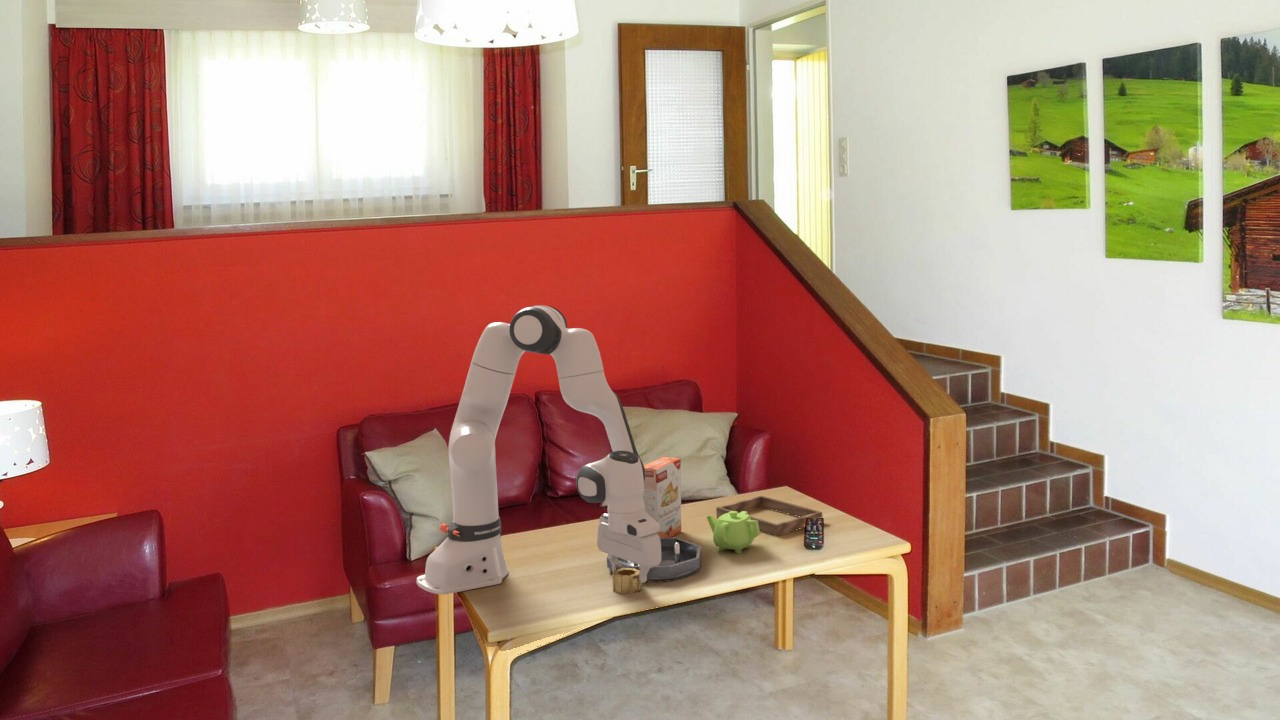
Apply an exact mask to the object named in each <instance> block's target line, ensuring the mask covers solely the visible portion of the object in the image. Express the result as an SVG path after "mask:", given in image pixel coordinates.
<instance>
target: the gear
mask: <svg viewBox="0 0 1280 720" xmlns="http://www.w3.org/2000/svg"><path fill="white" fill-rule="evenodd" d="M613 573H614V574H613ZM613 573H611V574H612V590H613V592H616V591H617V593H618V594H620V593H621V595H622V594H629V595H631V594H630V593H632V594H634V593H636V591H637V592H640V591H641V588H643V587H642V583H641V582H638V581H637V579H638V578H637V575H638V574H640V570H637V569H635V568H621V569H619V570H614V571H613ZM639 590H640V591H639ZM633 592H634V593H633Z"/></svg>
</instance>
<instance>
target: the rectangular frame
mask: <svg viewBox="0 0 1280 720" xmlns="http://www.w3.org/2000/svg"><path fill="white" fill-rule="evenodd" d="M758 507H759V508H764V507H766V508H765V509H768V508H769V509H768V510H771V509H773V510H772V511H775V510H777V511H776V512H778V511H781V512H780V513H782V512H785V513H789V514H792V515H797V516H800V517H795V518H793V519H789V520H786V521H782V522H779V523H774V522H771V521H769V520H764V519H761V518H758V517H754V516H751V515H749V516H750V518H751V520H758V525H759V530H760V532H761V531H762V532H761V533H764V532H765V533H764V534H768V533H769V534H768V535H771V534H772V535H771V536H774V535H775V537H779V536H782V535H781V534H783V535H785V534H784V533H786V534H788V533H787V532H789V533H792V532H791V531H793V530H796V529H799V528H802V529H805V528H804V524H805V518H807V517H822V518H823V512H822V511H819V510H815V509H812V508H808V507H804V506H801V505H798V504H793V503H791V502H786V501H782V500H779V499H775V498H771V497H768V496H764V495H759V496H755V497H752V498H747V499H744V500H741V501H737V502H732V503H729V504H725V505H724V504H723V505H721V506H717V507H716V508H715V510H716V519H718V518H719V517H720V516H721V515H723V514H726V513H729V512H730V511H737V512H738V513H740V512H742V511H746V512H748V511H751V509H752V510H754V509H759V508H758ZM785 513H784V514H785ZM789 514H788V515H789ZM792 515H791V516H792ZM799 530H800V529H799ZM796 531H797V530H796ZM793 532H794V531H793Z"/></svg>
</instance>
